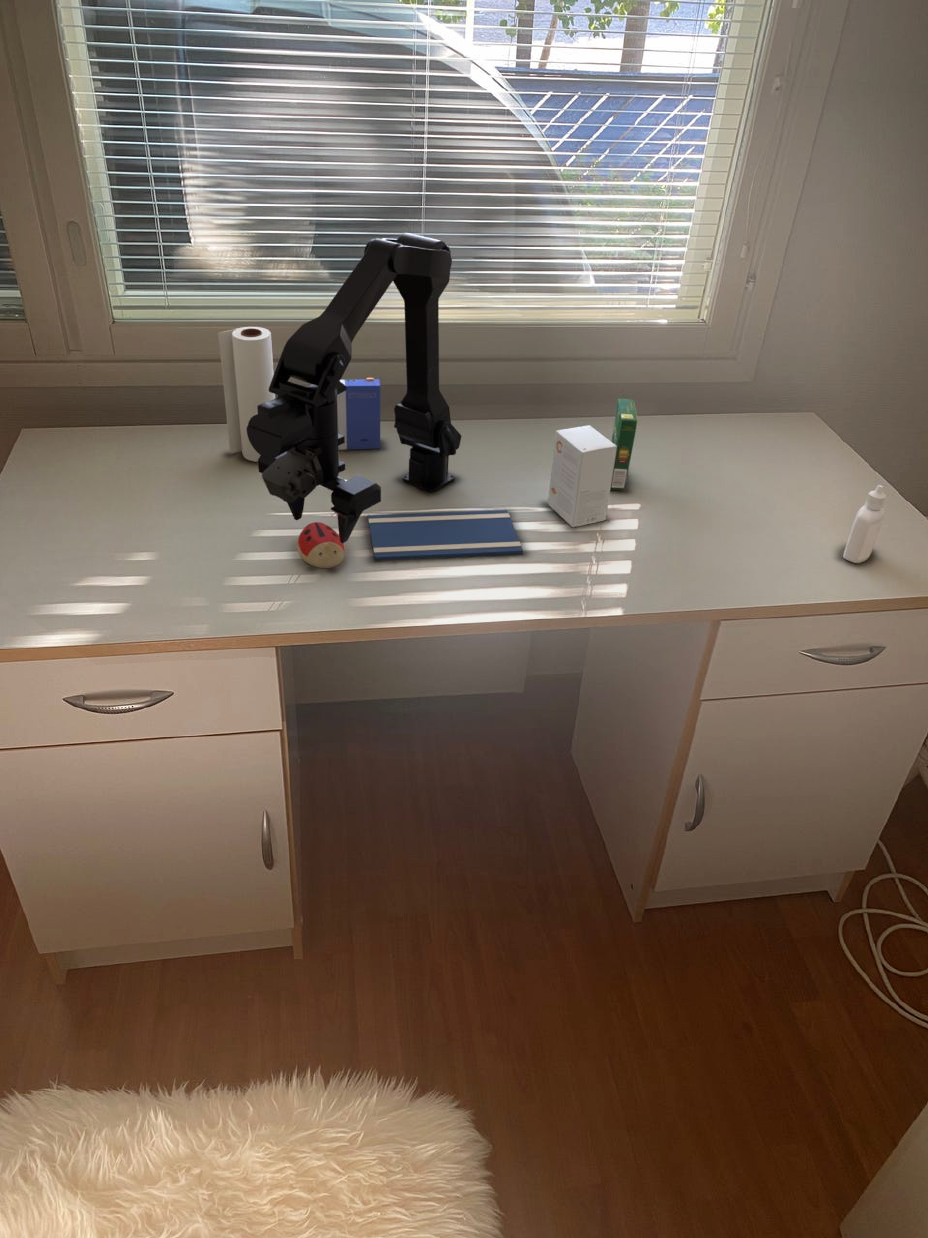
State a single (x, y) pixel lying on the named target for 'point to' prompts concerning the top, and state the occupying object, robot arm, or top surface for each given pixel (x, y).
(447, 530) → the towel
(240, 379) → the paper towel roll
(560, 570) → the top surface
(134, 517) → the top surface
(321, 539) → the ladybug figurine
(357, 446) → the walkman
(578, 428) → the small box
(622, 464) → the coffee box
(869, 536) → the eye dropper bottle
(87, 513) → the top surface
